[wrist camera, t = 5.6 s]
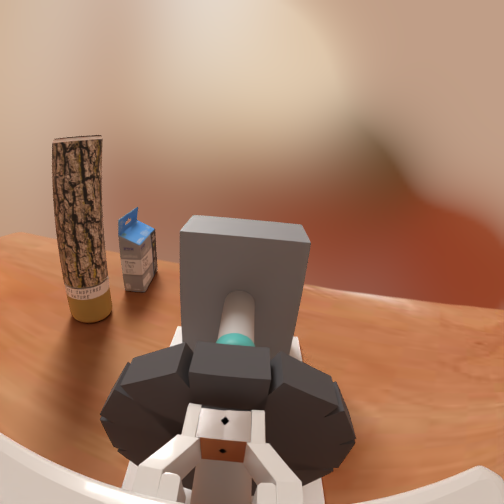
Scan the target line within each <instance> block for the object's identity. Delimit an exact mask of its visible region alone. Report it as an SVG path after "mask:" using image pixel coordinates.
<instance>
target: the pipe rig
mask: <svg viewBox="0 0 504 504" xmlns="http://www.w3.org/2000/svg"><path fill="white" fill-rule="evenodd" d="M310 245H311V242H310V241H309V238H308V236H307V234H306V232H305V230H304V229H303V227H302V225H299V224H289V223H279V222H269V221H268V222H267V221H258V220H247V219H236V218H223V217H212V216H199V215H193V216H192V217H191V218H190V219H189V221H188V222H187V223H186V224H185V225H184V227H183V228H182V229H181V230H180V301H181V327H180V326H178V327H177V330H176V332H175V335H174V337H173V340H172V343H171V345H170V347H171V346H174V345H177V344H181V343H184V342H186V343H187V344H188V346H189V347H190V348H191V350H192V351H193V353H194V350H195V346H196V343H197V341H202V342H210V343H220V344H230V345H241V346H253V347H267V348H269V349H270V361H271V360H272V359H273V358H274V357H275V356H276V355H277V354H278V353H279V352H280V351H282V352H284V353H286V354H288V355H290V356H292V357H294V358H296V359H297V360H299V361H301V362H302V357H301V352H300V346H299V341H298V337H293V335H294V331H295V326H296V321H297V316H298V311H299V306H300V301H301V296H302V291H303V285H304V279H305V274H306V269H307V263H308V257H309V251H310ZM137 469H138V466H137V465H135V464H134V463H133V462H131V461H130V462H129V465H128V468H127V471H126V475H125V478H124V481H123V484H122V489H125V490H129V491H131V490H132V486H133V483H134V479H135V476H136V473H137ZM183 488H184V487H183ZM251 490H252V477H251V475H250V474H249V472H248V471H247V469H246V467H245V466H244V464H243V463H239V462H229V461H220V460H209V459H201V461H200V462H199V463H198V464H197V465H196V468H195V474H194V480H193V487H192V490H190V489H187V488H184V492H185V495H186V501H185V503H186V504H251V503H252V500H253V497H254V496H251ZM302 491H303V502H304V504H325V501H324V494H323V487H322V480H321V478H319V479H317V480H315V481H313V482H311V483H309V484H307V485H304V486H302Z"/></svg>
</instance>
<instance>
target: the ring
mask: <svg viewBox="0 0 504 504" xmlns="http://www.w3.org/2000/svg"><path fill="white" fill-rule="evenodd" d="M189 403H193V404H200V405H206V406H213V407H221V408H236V409H251V410H264V412H265V441H266V443H269V444H270V445H271V446H272V448H273V449H274V450H275V451H276V452H277V454H278V455H279V456H280V457H281V459H282V460H283V461H284V462H285V463H286V464H287V466H288V467H289V468H290V469H291V470H292V471H293V473H294V474H295V475H296V476H297V477H298V478H299V479H300V481H301V482H302V486H304V485H307V484H309V483H311V482H313V481H315V480H317V479H319V478H321V477H323V476H325V475H327V474H329V473H331V472H333V468H338V467H339V465H340V464H341V463H342V461H343V460H344V459H345V457H346V456H347V454H348V453H349V452H350V450H351V449H352V447H353V446H354V444H355V440H354V439H356V437H355V433H354V429H353V425H352V422H351V418H350V415H349V411H348V409H347V406H346V404H345V402H344V399H343V397H342V394H341V392H340V389H339V387H338V385H337V382H336V381H335V382H332V378H331V376H329V375H327V374H325V373H323V372H321V371H319V370H317V369H315V368H313V367H311V366H309V365H307V364H305V363H303V362H301V361H299V360H297V359H296V358H294V357H292V356H290V355H288V354H286V353H284V352H282V351H280V352H279V353H278V354H277V355H276V356H275V357H274V358H273V359H272V360H271V361H270V349H269V348H267V347H253V346H241V345H230V344H220V343H210V342H202V341H197V343H196V346H195V350H194V353H193V351H192V350H191V348H190V347H189V346H188V344H187V343H186V342H184V343H181V344H177V345H174V346H171V347H168V348H165V349H162V350H158V351H155V352H152V353H149V354H145V355H142V356H138V357H135V358H133V360H132V362H131V364H130V363H129V362H128V363H127V364H126V366H125V368H124V369H123V371H122V373H121V375H120V376H119V378H118V380H117V381H116V383H115V385H114V387H113V388H112V390H111V392H110V394H109V396H108V398H107V400H106V403H105V405H104V407H103V409H102V411H101V413H100V415H101V418H100V421H101V423H102V425H103V427H104V429H105V431H106V433H107V435H108V437H109V439H110V441H111V443H112V445H113V446H114V447H116V448H119V449H118V452H119V453H121V454H122V455H123V456H125V457H126V458H127V459H129V460H130V461H131V462H133V463H134V464H135V465H137V466H139V464H141V463H142V462H143V461H145V460H146V459H147V458H149V457H150V456H151V455H152V454H154V453H155V452H156V451H158V450H159V449H160V448H161V447H163V446H164V445H165V444H166V443H168V442H169V441H170V440H171V439H173V438H174V437H175V436H176V435H177V434H179V435H181V434H182V429H183V425H184V421H185V416H186V412H187V408H188V405H189ZM195 468H196V466H195V467H194V468H193V469H192V470H191V471H190V472H189V473H188V474H187V475H186V476H185V477H184V478H183V479H182V480H181V481H182V485H183V487H184V488H187V489H190V490H192V487H193V480H194V474H195ZM256 488H257V484H256V483H255V481H254V480H253V478H252V490H251V496H254V494H255V491H256Z"/></svg>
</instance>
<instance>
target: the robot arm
mask: <svg viewBox="0 0 504 504" xmlns="http://www.w3.org/2000/svg"><path fill="white" fill-rule="evenodd" d="M201 459H209V460H220V461H229V462H239V463H243V464H244V466H245V467H246V469H247V471H248V472H249V474H250V475H251V477H252V478H253V480H254V481H255V483H256V484H257V488H256V491H255V494H254V497H253V500H252V503H251V504H304V502H303V491H302V482H301V481H300V479H299V478H298V477H297V476H296V475H295V474H294V473H293V471H292V470H291V469H290V468H289V467H288V466H287V464H286V463H285V462H284V461H283V460H282V459H281V457H280V456H279V455H278V454H277V452H276V451H275V450H274V449H273V448H272V446H271V445H270V444H269V443H266V441H265V412H264V410H251V409H236V408H221V407H213V406H206V405H200V404H193V403H189V405H188V408H187V412H186V416H185V421H184V425H183V429H182V434H181V435H179V434H177V435H176V436H175V437H174V438H173V439H171V440H170V441H169V442H168V443H166V444H165V445H164V446H163V447H161V448H160V449H159V450H158V451H156V452H155V453H154V454H152V455H151V456H150V457H149V458H147V459H146V460H145V461H143V462H142V463H141V464H139V466H138V469H137V473H136V476H135V479H134V483H133V486H132V490H131V491H129V490H125V489H122V488H119V487H115V486H112V485H109V484H106V483H103V482H100V481H98V480H95V479H92V478H90V477H87V476H84V475H82V474H79V473H77V472H75V471H72V470H70V469H67V468H65V467H63V466H61V465H59V464H56V463H54V462H52V461H50V460H48V459H46V458H44V457H42V456H40V455H38V454H36V453H34V452H33V451H31V450H29V449H27V448H25V447H23V446H22V445H20V444H18V443H17V442H15V441H13V440H12V439H10V438H8V437H7V436H5V435H3V434H2V433H0V504H186V503H185V501H186V495H185V492H184V488H183V485H182V481H181V480H182V479H183V478H184V477H185V476H186V475H187V474H188V473H189V472H190V471H191V470H192V469H193V468H194V467H195V466H196V465H197V464H198V463H199V462H200V461H201ZM354 504H504V481H503V479H502V478H501V477H500V476H499V475H498V474H496V473H495V472H493V471H491V470H489V469H488V468H486V467H484V466H476V467H473V468H471V469H468V470H466V471H464V472H462V473H459V474H457V475H454V476H452V477H449V478H447V479H444V480H441V481H439V482H436V483H433V484H430V485H427V486H424V487H421V488H418V489H414V490H411V491H407V492H404V493H400V494H396V495H392V496H388V497H384V498H380V499H375V500H370V501H365V502H360V503H354Z"/></svg>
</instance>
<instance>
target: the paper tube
mask: <svg viewBox="0 0 504 504" xmlns="http://www.w3.org/2000/svg"><path fill="white" fill-rule="evenodd" d="M52 179H53V198H54V199H53V201H54V214H55V224H56V233H57V242H58V249H59V256H60V262H61V268H62V274H63V279H64V284H65V289H66V293H67V298H68V302H69V307H70V311H71V314H72V316H73V317H74V318H75V319H76V320H78V321H80V322H84V323H93V322H98V321H100V320H103V319H104V318H106V317H107V316H108V315H109V314H110V312H111V310H112V301H111V295H110V288H109V279H108V271H107V262H106V253H105V241H104V228H103V212H102V211H103V210H102V136H101V135H94V136H79V137H67V138H60V139H55V140H54V141H53V144H52Z"/></svg>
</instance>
